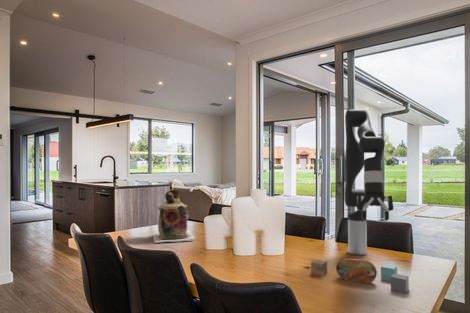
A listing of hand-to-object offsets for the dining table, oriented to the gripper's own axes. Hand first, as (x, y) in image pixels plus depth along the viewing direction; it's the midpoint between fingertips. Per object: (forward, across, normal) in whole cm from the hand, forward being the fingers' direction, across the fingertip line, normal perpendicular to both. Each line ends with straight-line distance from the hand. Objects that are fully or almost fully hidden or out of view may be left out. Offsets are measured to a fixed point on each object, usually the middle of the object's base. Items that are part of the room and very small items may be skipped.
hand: (375, 220), depth 138 cm
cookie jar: (+15, +107, -58) cm, 123 cm away
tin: (+24, +10, +6) cm, 26 cm away
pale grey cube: (+25, -4, +14) cm, 29 cm away
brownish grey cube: (+23, +23, -1) cm, 33 cm away
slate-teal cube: (+23, -4, +2) cm, 23 cm away
